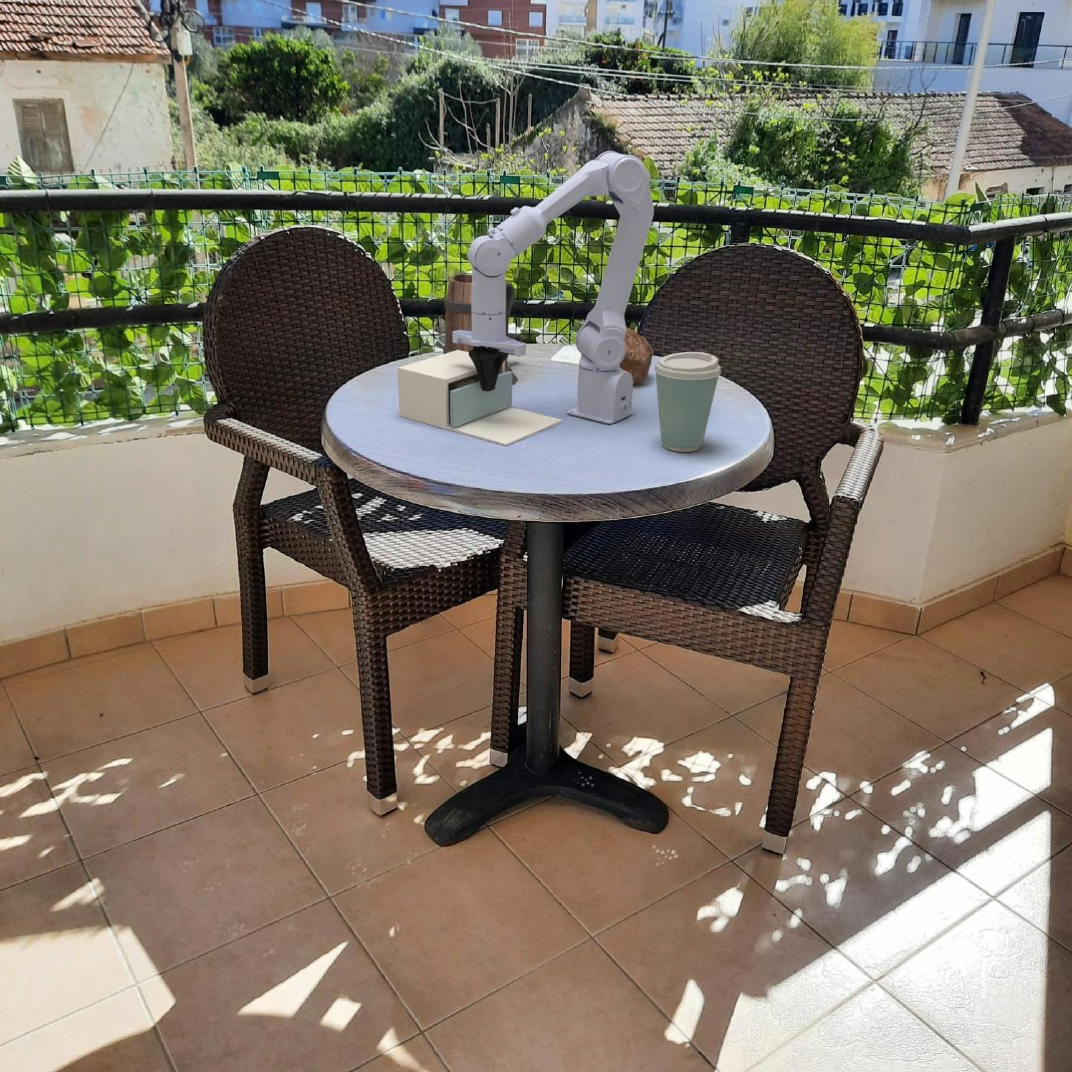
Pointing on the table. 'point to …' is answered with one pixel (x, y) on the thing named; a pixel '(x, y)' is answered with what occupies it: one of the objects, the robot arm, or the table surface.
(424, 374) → the console box
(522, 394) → the table surface
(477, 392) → the teal drawer
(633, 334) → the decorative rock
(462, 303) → the tankard
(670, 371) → the disposable coffee cup
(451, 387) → the birch block
